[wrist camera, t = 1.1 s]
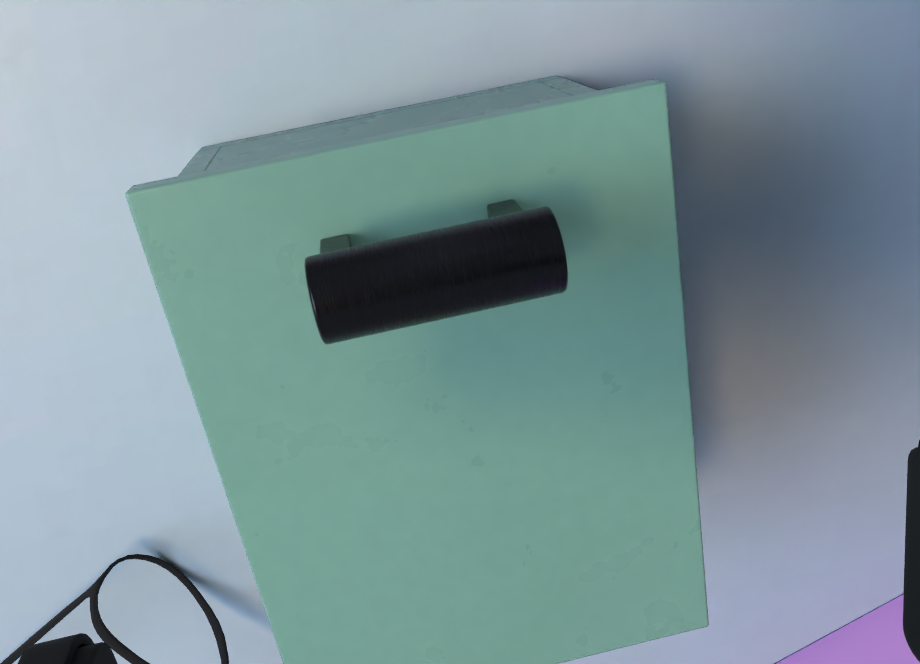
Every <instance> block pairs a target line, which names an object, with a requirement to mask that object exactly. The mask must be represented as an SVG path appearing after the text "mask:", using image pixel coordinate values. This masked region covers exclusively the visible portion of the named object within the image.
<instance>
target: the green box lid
mask: <svg viewBox="0 0 920 664" xmlns="http://www.w3.org/2000/svg"><path fill="white" fill-rule="evenodd" d="M126 199H127V202H128V205H129V208H130V211H131V214H132V217H133V220H134V223H135V226H136V229H137V232H138V234H139V237H140V240H141V243H142V246H143V249H144V252H145V255H146V258H147V261H148V264H149V267H150V270H151V273H152V276H153V279H154V282H155V285H156V288H157V291H158V294H159V297H160V300H161V303H162V306H163V308H164V311H165V314H166V317H167V320H168V323H169V326H170V329H171V332H172V335H173V338H174V341H175V344H176V347H177V350H178V353H179V356H180V359H181V362H182V365H183V368H184V371H185V374H186V377H187V380H188V383H189V385H190V388H191V391H192V394H193V397H194V400H195V403H196V406H197V409H198V412H199V415H200V418H201V421H202V424H203V427H204V430H205V433H206V436H207V439H208V442H209V445H210V448H211V451H212V454H213V457H214V459H215V462H216V465H217V468H218V471H219V474H220V477H221V480H222V483H223V486H224V489H225V492H226V495H227V498H228V501H229V504H230V507H231V510H232V513H233V516H234V519H235V522H236V525H237V528H238V531H239V534H240V536H241V539H242V542H243V545H244V548H245V551H246V554H247V557H248V560H249V563H250V566H251V569H252V572H253V575H254V578H255V581H256V584H257V587H258V590H259V593H260V596H261V599H262V602H263V605H264V608H265V610H266V613H267V616H268V619H269V622H270V625H271V628H272V631H273V634H274V637H275V640H276V643H277V646H278V649H279V652H280V655H281V658H282V661H283V664H558V663H562V662H566V661H570V660H574V659H578V658H582V657H586V656H590V655H594V654H598V653H602V652H606V651H610V650H614V649H618V648H622V647H626V646H630V645H634V644H638V643H643V642H647V641H651V640H655V639H659V638H663V637H667V636H671V635H675V634H679V633H683V632H687V631H691V630H695V629H699V628H703V627H707V626H708V625H709V621H708V608H707V596H706V583H705V570H704V558H703V545H702V532H701V520H700V507H699V494H698V482H697V469H696V456H695V444H694V431H693V419H692V406H691V393H690V381H689V368H688V355H687V343H686V330H685V317H684V305H683V292H682V279H681V267H680V254H679V241H678V229H677V216H676V203H675V191H674V178H673V166H672V153H671V140H670V128H669V115H668V102H667V90H666V84H665V82H661V81H657V80H654V79H652V80H647V81H642V82H637V83H632V84H628V85H623V86H618V87H613V88H608V89H603V90H598V91H593V92H588V93H584V94H579V95H574V96H569V97H564V98H559V99H554V100H549V101H544V102H540V103H535V104H530V105H525V106H520V107H515V108H510V109H505V110H500V111H495V112H491V113H486V114H481V115H476V116H471V117H466V118H461V119H456V120H451V121H447V122H442V123H437V124H432V125H427V126H422V127H417V128H412V129H407V130H403V131H398V132H393V133H388V134H383V135H378V136H373V137H368V138H363V139H359V140H354V141H349V142H344V143H339V144H334V145H329V146H324V147H319V148H315V149H310V150H305V151H300V152H295V153H290V154H285V155H280V156H275V157H270V158H266V159H261V160H256V161H251V162H246V163H241V164H236V165H231V166H226V167H222V168H217V169H212V170H207V171H202V172H197V173H192V174H187V175H182V176H178V177H173V178H168V179H163V180H158V181H153V182H148V183H143V184H138V185H134V186H132V187H131V188H130V189H129V190H128V191H127V192H126Z"/></svg>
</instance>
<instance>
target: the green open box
mask: <svg viewBox="0 0 920 664" xmlns="http://www.w3.org/2000/svg"><path fill="white" fill-rule="evenodd" d="M593 91H598V90H595V89H592V88H590V87H587V86H584V85H581V84H579V83H576V82H573V81H571V80H568V79H565V78H562V77H559V76H552V77H547V78H542V79H537V80H532V81H527V82H523V83H518V84H513V85H508V86H503V87H498V88H493V89H488V90H483V91H478V92H473V93H468V94H463V95H458V96H453V97H449V98H444V99H439V100H434V101H429V102H424V103H419V104H414V105H409V106H404V107H399V108H394V109H389V110H384V111H379V112H375V113H370V114H365V115H360V116H355V117H350V118H345V119H340V120H335V121H330V122H325V123H320V124H315V125H310V126H305V127H300V128H296V129H291V130H286V131H281V132H276V133H271V134H266V135H261V136H256V137H251V138H246V139H241V140H236V141H231V142H226V143H222V144H217V145H212V146H207V147H202V148H201V149H200V150H199V151H198V152H197V153H196V154H195V156H194V157H193V158H192V159H191V161H190V162H189V163H188V164H187V165H186V167H185V168H184V169H183V170H182V172H181V173H180V174H179V175H178V176H182V175H187V174H192V173H197V172H202V171H207V170H212V169H217V168H222V167H226V166H231V165H236V164H241V163H246V162H251V161H256V160H261V159H266V158H270V157H275V156H280V155H285V154H290V153H295V152H300V151H305V150H310V149H315V148H319V147H324V146H329V145H334V144H339V143H344V142H349V141H354V140H359V139H363V138H368V137H373V136H378V135H383V134H388V133H393V132H398V131H403V130H407V129H412V128H417V127H422V126H427V125H432V124H437V123H442V122H447V121H451V120H456V119H461V118H466V117H471V116H476V115H481V114H486V113H491V112H495V111H500V110H505V109H510V108H515V107H520V106H525V105H530V104H535V103H540V102H544V101H549V100H554V99H559V98H564V97H569V96H574V95H579V94H584V93H588V92H593Z"/></svg>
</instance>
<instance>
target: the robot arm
mask: <svg viewBox="0 0 920 664" xmlns="http://www.w3.org/2000/svg"><path fill="white" fill-rule="evenodd" d="M903 631H904V635H905V639H906V641H907V644H908V646H909V648H910V650H911V651H912V653H913V655H914V656H915V657H916V659H917V660H918V661H919V662H920V440H919V445H918V447H917V448H914V449H913V450H911V452H910V454H909V457H908V473H907V505H906V536H905V568H904V599H903ZM18 664H117V661H116V659H115V657H114V654H113V652H112V650H111V649H110V647H109V646H108V645H107V644H106V643H103V642H101V643H97V644H94V643H93V641H92V639H91V638H90V637H89V636H88V635H86V634H82V633H80V634H76V635H72V636H68V637H64V638H59V639H55V640H51V641H47V642H42V643H38V644H34V645H31V646H29V647H28V648H26V650H25V651H24V653H23V654H22V656H21V658H20V660H19V662H18Z"/></svg>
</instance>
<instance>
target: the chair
mask: <svg viewBox="0 0 920 664" xmlns="http://www.w3.org/2000/svg"><path fill="white" fill-rule="evenodd" d="M903 599H904V594H903V595H901V596H899V597H898V598H896V599H894V600H892V601H890V602H888V603H886V604H885V605H883V606H881V607H879V608H877V609H875V610H874V611H872V612H870V613H868V614H866V615H864V616H862V617H861V618H859V619H857V620H855V621H853V622H851V623H850V624H848V625H846V626H844V627H842V628H840V629H838V630H837V631H835V632H833V633H831V634H829V635H827V636H826V637H824V638H822V639H820V640H818V641H816V642H815V643H813V644H811V645H809V646H807V647H805V648H803V649H802V650H800V651H798V652H796V653H794V654H792V655H791V656H789V657H787V658H785V659H783V660H781V661H779V662H778V663H776V664H920V662H919V661H918V660H917V659H916V657H915V656H914V655H913V653H912V651H911V650H910V648H909V646H908V644H907V641H906V639H905V635H904V631H903Z"/></svg>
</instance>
